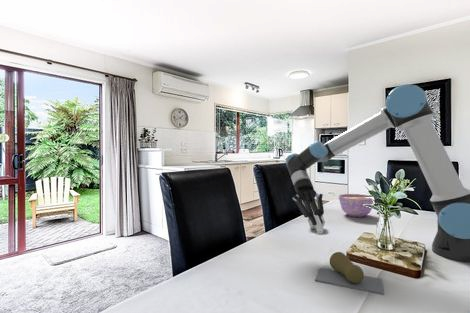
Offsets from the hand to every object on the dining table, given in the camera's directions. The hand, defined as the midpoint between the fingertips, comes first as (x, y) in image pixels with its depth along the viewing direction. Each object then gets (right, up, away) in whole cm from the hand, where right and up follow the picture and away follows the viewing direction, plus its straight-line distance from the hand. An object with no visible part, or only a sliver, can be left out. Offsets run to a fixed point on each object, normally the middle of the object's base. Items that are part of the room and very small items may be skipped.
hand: (321, 232), depth 97 cm
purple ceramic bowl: (+42, -8, +62) cm, 75 cm away
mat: (+2, -9, -19) cm, 21 cm away
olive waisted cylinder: (+2, -6, -12) cm, 13 cm away
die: (+9, -9, +35) cm, 38 cm away
